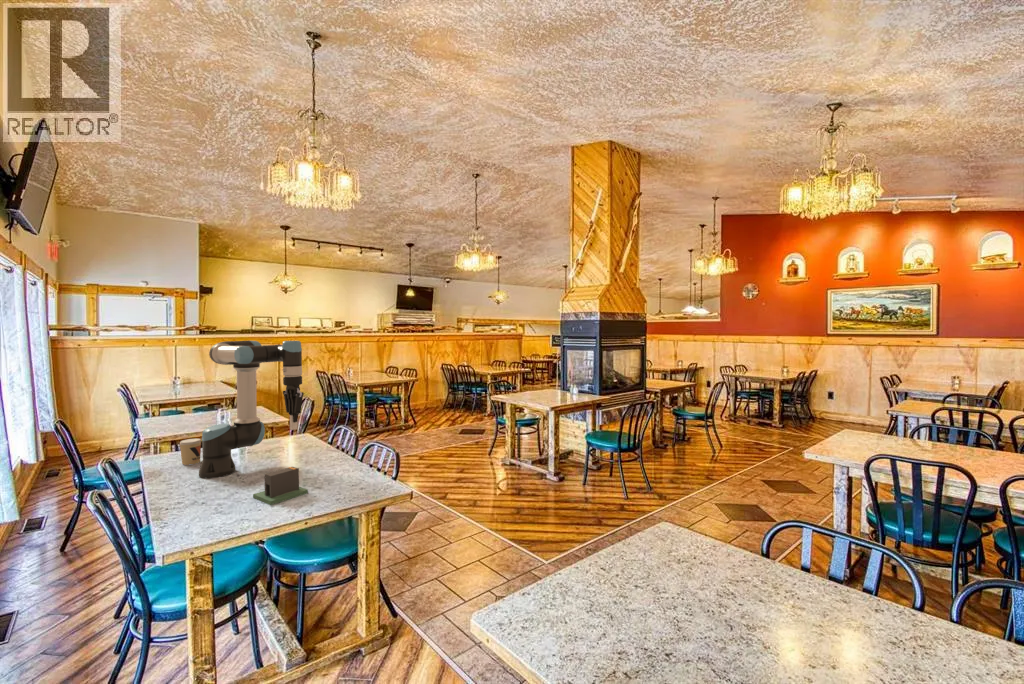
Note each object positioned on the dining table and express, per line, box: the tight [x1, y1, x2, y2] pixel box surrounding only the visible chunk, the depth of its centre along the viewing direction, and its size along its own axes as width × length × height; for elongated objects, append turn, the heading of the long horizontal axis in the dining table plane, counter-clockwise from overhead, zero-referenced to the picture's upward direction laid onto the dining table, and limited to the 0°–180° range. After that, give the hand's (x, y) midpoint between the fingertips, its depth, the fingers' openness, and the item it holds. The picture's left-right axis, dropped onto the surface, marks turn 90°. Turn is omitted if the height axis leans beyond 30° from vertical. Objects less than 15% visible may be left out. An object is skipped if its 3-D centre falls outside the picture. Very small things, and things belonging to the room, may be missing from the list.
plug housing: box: [263, 466, 300, 498], centre depth 192 cm, size 5×12×9 cm, turn 145°
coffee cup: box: [179, 438, 202, 466], centre depth 241 cm, size 9×9×12 cm
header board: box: [252, 486, 309, 506], centre depth 193 cm, size 14×16×6 cm
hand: (293, 429), depth 201 cm, fingers closed
